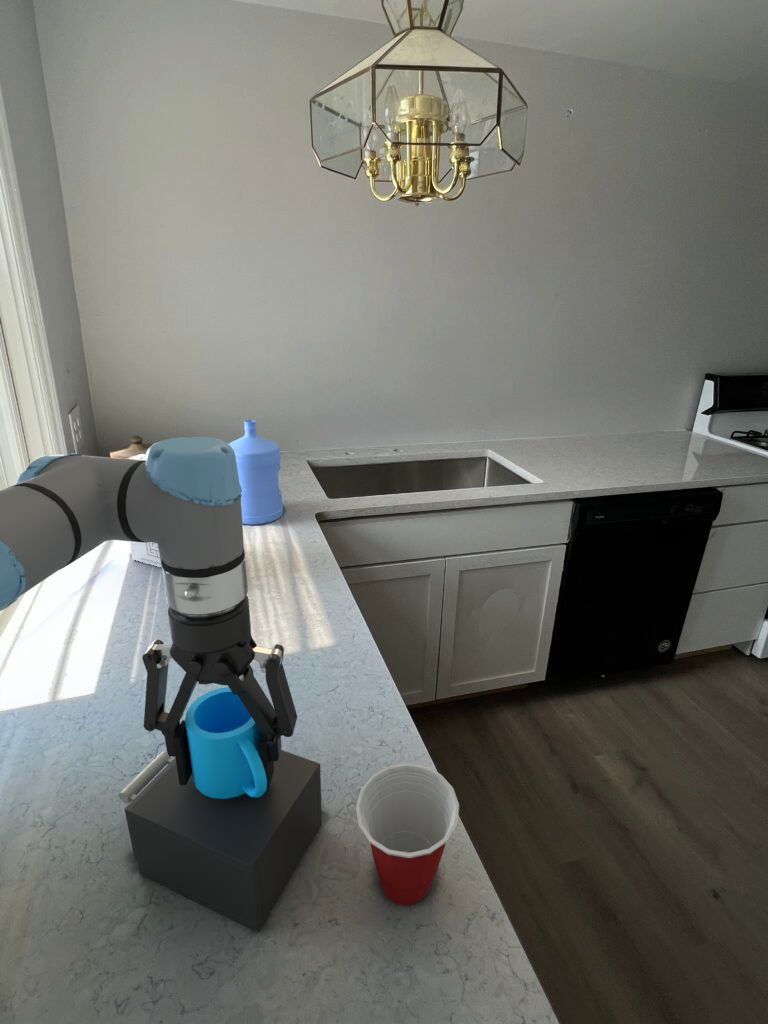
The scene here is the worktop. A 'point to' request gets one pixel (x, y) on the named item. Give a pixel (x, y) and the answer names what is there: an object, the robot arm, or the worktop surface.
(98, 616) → the worktop surface
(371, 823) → the plastic cup
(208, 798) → the dark grey rectangular box
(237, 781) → the mug
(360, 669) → the worktop surface
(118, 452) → the wooden container
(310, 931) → the worktop surface
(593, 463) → the worktop surface
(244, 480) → the water jug
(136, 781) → the drawer
